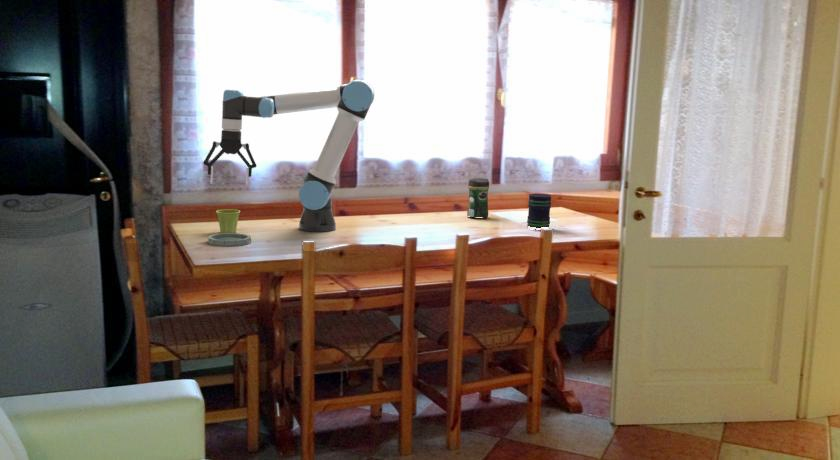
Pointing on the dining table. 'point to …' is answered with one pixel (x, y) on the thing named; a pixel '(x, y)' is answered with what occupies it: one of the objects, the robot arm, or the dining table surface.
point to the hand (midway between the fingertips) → (229, 184)
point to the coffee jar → (478, 197)
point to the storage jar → (539, 210)
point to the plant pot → (228, 220)
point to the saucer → (229, 239)
